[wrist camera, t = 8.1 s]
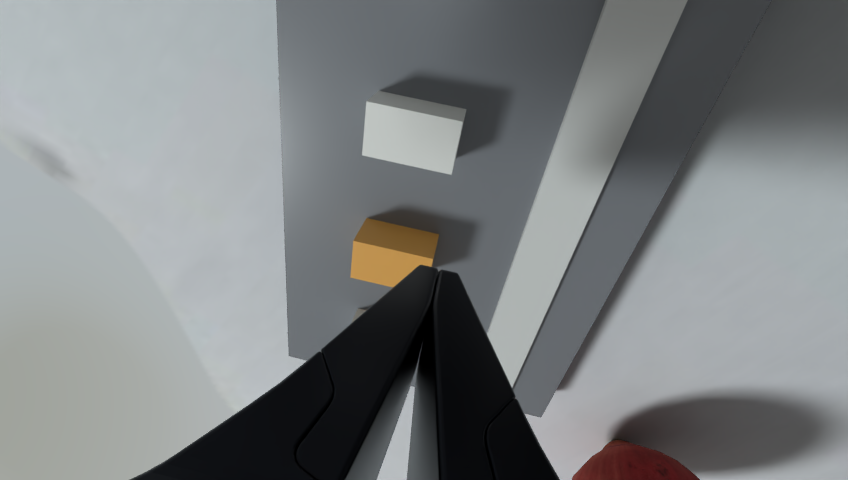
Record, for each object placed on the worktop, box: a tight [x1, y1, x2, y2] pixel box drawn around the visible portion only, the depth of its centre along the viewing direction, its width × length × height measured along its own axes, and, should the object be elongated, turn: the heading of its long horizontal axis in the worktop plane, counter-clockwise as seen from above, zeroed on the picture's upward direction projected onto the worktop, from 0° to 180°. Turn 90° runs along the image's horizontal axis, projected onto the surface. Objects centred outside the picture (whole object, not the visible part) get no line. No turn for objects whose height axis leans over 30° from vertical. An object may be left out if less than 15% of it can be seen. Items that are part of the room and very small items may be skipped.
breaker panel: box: [276, 0, 772, 417], centre depth 12 cm, size 11×18×2 cm, turn 170°
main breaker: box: [350, 218, 439, 287], centre depth 13 cm, size 2×1×1 cm, turn 80°
